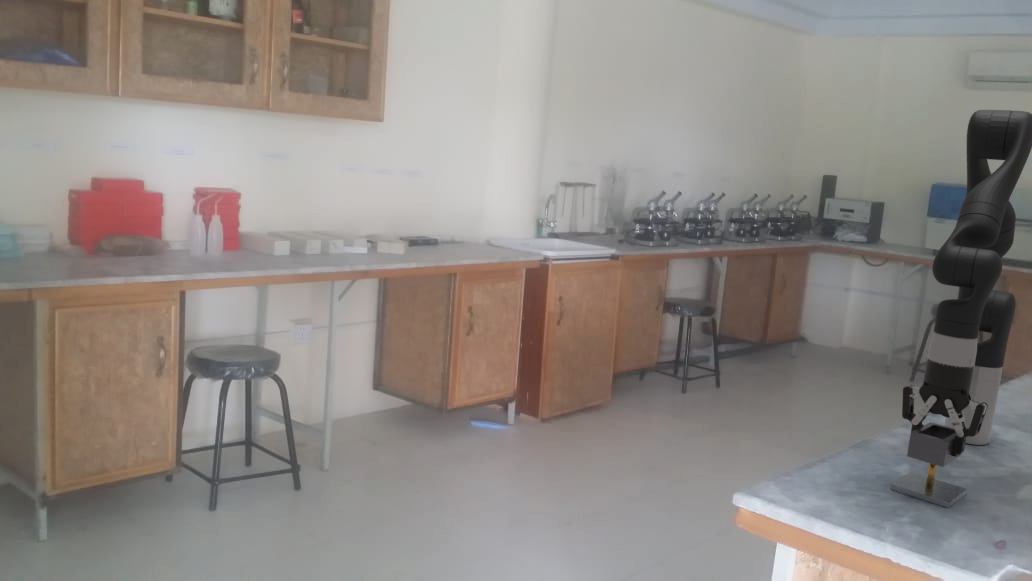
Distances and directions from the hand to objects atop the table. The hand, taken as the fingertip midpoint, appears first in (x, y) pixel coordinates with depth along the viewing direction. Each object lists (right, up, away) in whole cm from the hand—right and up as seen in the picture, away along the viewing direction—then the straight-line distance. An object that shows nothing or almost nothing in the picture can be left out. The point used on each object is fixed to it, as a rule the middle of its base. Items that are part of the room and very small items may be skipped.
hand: (935, 449), depth 160 cm
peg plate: (-1, -8, +1) cm, 8 cm away
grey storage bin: (0, -1, 0) cm, 1 cm away
